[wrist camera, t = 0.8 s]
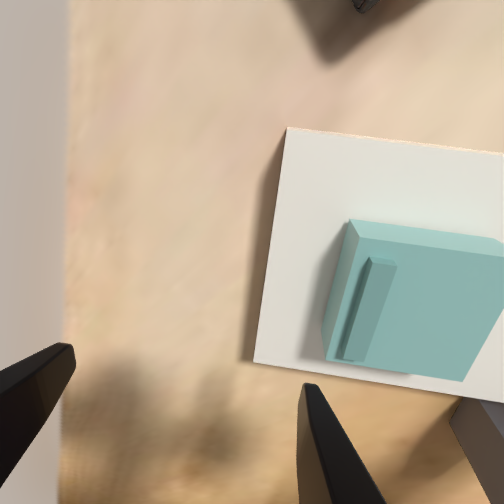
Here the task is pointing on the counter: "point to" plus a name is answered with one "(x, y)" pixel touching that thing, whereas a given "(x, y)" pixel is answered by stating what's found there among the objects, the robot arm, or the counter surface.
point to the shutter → (413, 299)
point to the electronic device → (364, 5)
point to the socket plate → (375, 210)
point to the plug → (483, 442)
